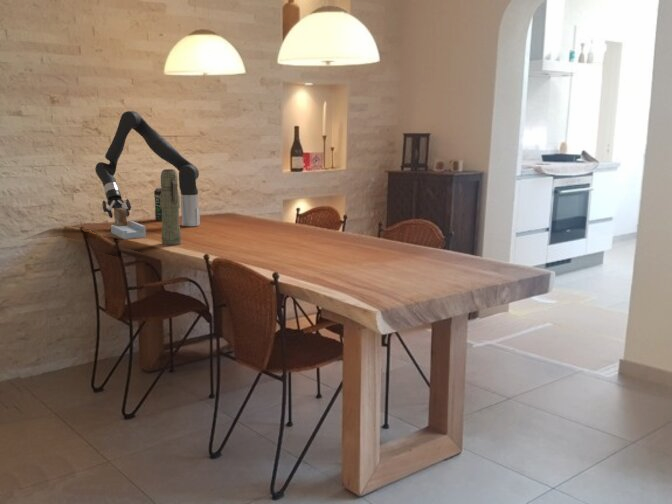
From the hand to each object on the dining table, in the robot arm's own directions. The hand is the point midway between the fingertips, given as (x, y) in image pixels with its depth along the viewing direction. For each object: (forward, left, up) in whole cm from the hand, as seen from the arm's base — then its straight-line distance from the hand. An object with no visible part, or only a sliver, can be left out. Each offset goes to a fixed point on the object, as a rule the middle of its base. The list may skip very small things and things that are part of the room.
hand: (119, 216), depth 358 cm
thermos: (-38, +40, -7) cm, 55 cm away
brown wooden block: (-1, +1, -7) cm, 7 cm away
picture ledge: (-10, +17, -7) cm, 21 cm away
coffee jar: (-14, -34, -7) cm, 37 cm away
